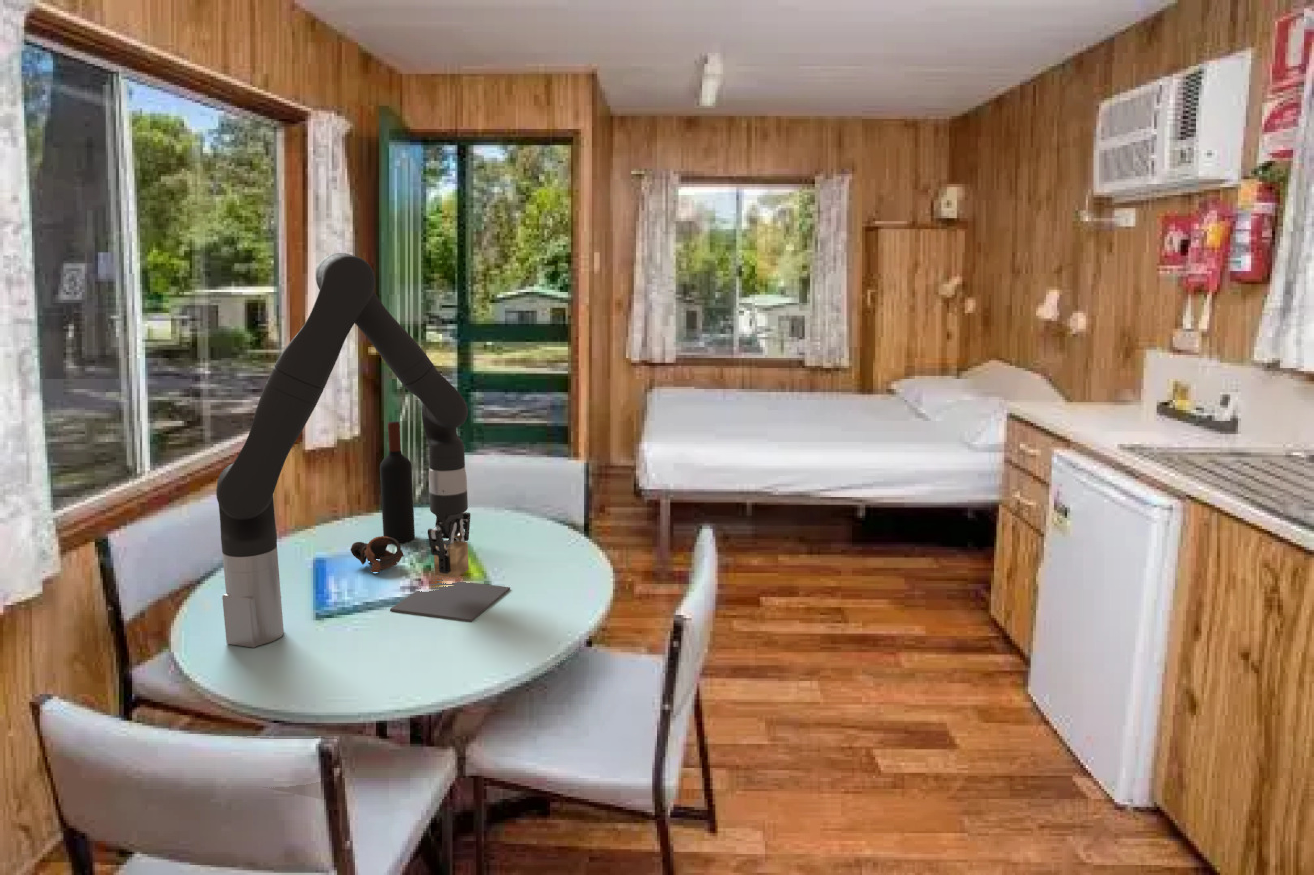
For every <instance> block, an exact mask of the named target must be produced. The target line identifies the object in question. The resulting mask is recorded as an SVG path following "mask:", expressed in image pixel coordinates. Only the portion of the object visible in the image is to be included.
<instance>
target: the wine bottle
mask: <svg viewBox="0 0 1314 875" xmlns="http://www.w3.org/2000/svg"><path fill="white" fill-rule="evenodd" d="M400 429H401V424H400V421H399V420H398V421H397V420H393V421H387V431H388V435H387V436H388V455H387V456H386V457H384V458H383V459H382V461H380V464H379V473H380V475H379V479H380V496H381V515H382V518H381V519H382V532H383V533H382V534H383V535H382V536H387V537H391V538H394V539H396V540H397V541H398V542H399V544H400V545H401V544H402V545H403V544H407V543H406V542H408V543H410V542H413V541H414V540H415V537H416V536H415V535H416V534H415V531H416V530H415V514H414V512H415V509H414V491H413V490H414V489H413V488H414V486H413V470H412V469H413V467H412V462H411V461H410V460H409V458H408V457H407V456H405V455H403V453H402V448H401V447H402V446H401V430H400ZM390 545H394V544H393V543H391V544H390Z"/></svg>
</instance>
